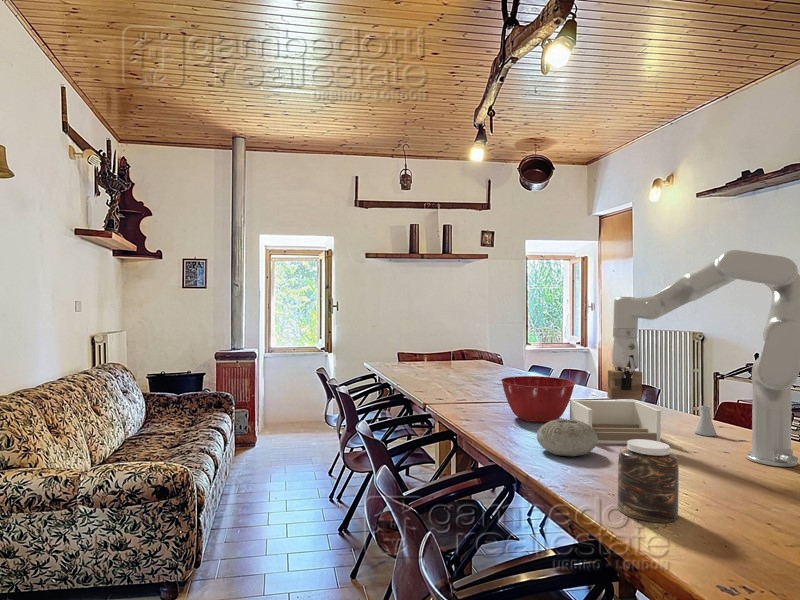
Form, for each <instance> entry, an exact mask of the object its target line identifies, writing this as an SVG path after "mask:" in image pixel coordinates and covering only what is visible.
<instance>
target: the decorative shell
mask: <svg viewBox="0 0 800 600" xmlns="http://www.w3.org/2000/svg"><path fill="white" fill-rule="evenodd" d="M536 440H537V443H538V444H539V445H540V447H541V448H542V449H544V450H546V452H548V453H551V454H552V455H556V456H562V457H563V456H565V457H579V456H583V455H587V454H588V453H590V452H592V451H593V450H594V449H595V448H596V446H598V444H599V443H598V438H597V435H596V432H595V431H594V430H593V429H592V428H591V427H590V425H587V424H585V423H584V422H581V421H578V420H570V419H564V418H562V419H561V418H558V419H557V420H554V421H550V422H548V423H543V424H541V426H540V427H539V429H537V430H536Z"/></svg>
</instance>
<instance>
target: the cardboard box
mask: <svg viewBox="0 0 800 600" xmlns="http://www.w3.org/2000/svg"><path fill="white" fill-rule="evenodd" d="M626 372H627V370H626ZM632 376H633V377H632V387H631V390H622V389H621V378H623V371H616V370H607V389H606V390H607V395H606V397H607V398H608V399H611V400H635V401H638V400H643V399H642V398H643V396H642V395H643V372H642V371H639V370H635V372H634V373H633V375H632Z"/></svg>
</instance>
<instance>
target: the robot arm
mask: <svg viewBox="0 0 800 600" xmlns="http://www.w3.org/2000/svg"><path fill="white" fill-rule="evenodd" d="M798 270H799V269H798V266H797V264H796V262H794V261H793V260H792V259H791V258H789V257H785V256H783V255H782V256H781V255H774V254H773V255H772V254H767V253H761V252H755V251H754V252H753V251H747V250H742V249H741V250H740V249H731V250H730V249H729V250H726V251H725V252H724V253H722V254H721V255H720V256H718V257H716V258H713V260H710V261H709V262H707V263H705V264H703V265H701V266H699V267H697V268H695V269H694V270H692V271H690V272H688V273H686V274H684V275H682V277H680V278H679V279H678V280H676V281H675V282H673V283H672V284H671V285H669V286H667V287H666V288H664V289H662V290H660V291H659V292H657V293H655V294H653V295H650V296H645V297H644V296H643V297H642V296H641V297H633V296H617V297H615V298H614V300H613V320H612V321H613V323H612V325H613V326H612V327H613V329H612V338H613V344H612V356H611V357H612V364H613V367H614V371H623V378H621V389H622V390H631V387H632V377H633V376H632V375H633V373H634V372H635V371H636V370H637V369H638V368H639V366H640V365H639V363H640V362H639V360H640V357H639V342H638V328H639V327H638V326H639V319H643V320H647V321H653V320H657V319H659V318H661V317H663V316H665V315H667V314H668V313H670V312H672V311H674V310H676V309H678V308H681V307H682V306H684V305H686V304H687V305H688V304H689V303H691V302H694V301H697V300H700V299H701V298H703V297H705V296H706V295H708V294H711V293H712V292H714V291H717V290H719V289H720V288H723V287H724V286H726V285H728V284H730V283H732V282H734V281H736V280H741V281H746V282H752V283H757V284H764V285H765V286H767V287H768V288H769V290H770V291H771V295H772V298H771V299H772V300H771V304H770V310H769V314H768V317H767V320H766V323H765V327H764V329H763V333H762V337H763V341H764V344H763V348H762V352H761V356H759V357H757V358H756V360H755V361H754V362H753V364H752V367H751V383H752V384H751V385H752V406H751V407H752V413H751V414H752V415H751V416H752V417H751V421H752V423H751V424H752V425H751V451H748V452H746V453H745V458H746V459H747V460H749V461H751V462H755V463H757V464H762V465H766V466H772V467H781V468H782V467H785V468H788V467H796V466H798V461H799V458H798V456H794V454H793V453H794V451H793V449H792V408H793V407H792V404H793V403H792V399H793V398H792V387H793V385H794V384H795V383H796V382H797V380H798V377H799V375H800V274H799V271H798ZM626 371H627V372H626Z"/></svg>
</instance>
